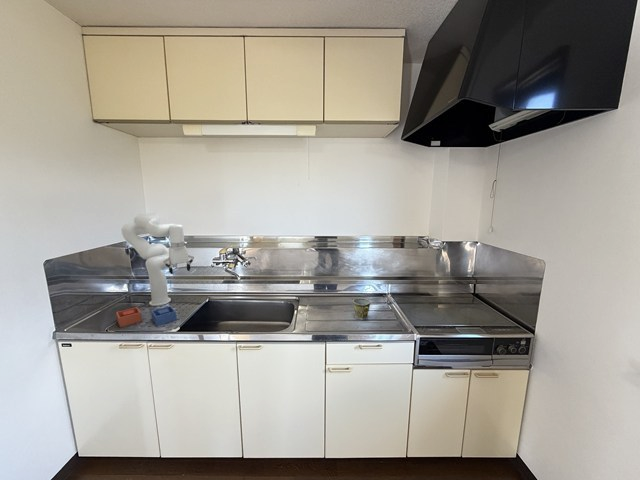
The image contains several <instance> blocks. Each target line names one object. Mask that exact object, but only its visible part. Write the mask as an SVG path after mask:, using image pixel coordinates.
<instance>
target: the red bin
mask: <svg viewBox="0 0 640 480" xmlns="http://www.w3.org/2000/svg"><path fill="white" fill-rule="evenodd" d="M129 310H133V311H134V312H135V314H131V315H127V316H123V313H122V312H125V311H129ZM115 315H116V321H117V323H118V326H119V328H123V327H128V326H130V325H134V324H138V323H141V322H142V321H143V320H142V312H141V311H140V309H139V307H137V306H136V307H132V308H127V309H123V310H119V311H115Z"/></svg>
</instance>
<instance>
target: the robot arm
mask: <svg viewBox="0 0 640 480" xmlns="http://www.w3.org/2000/svg"><path fill="white" fill-rule="evenodd" d="M184 234H185V233H184V226H183V225H182V224H176V223H172V222H171V223H163V224H161V218H160V216H159V215H158V214H156V213H140V214H137V215H136V216H135V217H134V218H133V222H129V223H126V224H124V225H123V226H122V227H121V235H122V237H123V240H125V241H126V242H127V243H128V244H129V245H130V246H132V247H133V248H134V250H135V251H136V253H137V254H138V255H139V257H141V259H143V260H146V261H145V267H146V271H147V275H148V281H149V288H150V289H149V290H150V296H151V297H150V298H151V300H150V301H149V302H148V303H149V306H152V307H158V306H159V307H160V306H164V305H167V304H169V303H170V302H171V301H172V298H171V297H169V292H168V283H167V276H166V274H165V273H164V271H163V270H167V269H168V272H169V274H170V275H173V274H174V271H173V270H174V269H173V267H174V266H175V265H178V264H185V263H186V270H187V271H188V272H190V271H191V264H192V263H193V261H194V259H195V257H194V256H192V255H189V252H188V248H187V246H186V245H187V244H188V242H187V241H185V235H184ZM142 235H149V236H152V237H154V238H163V237H169V244H170V247H169V248H167V246H166V245H165V244H163V243H160V242H159V243H149V242H148V240H147V239H145V238H144V237H142Z"/></svg>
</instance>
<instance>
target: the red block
mask: <svg viewBox="0 0 640 480" xmlns="http://www.w3.org/2000/svg"><path fill="white" fill-rule="evenodd" d="M122 313H123V316H127V315H131V314H135V312H134V311H133V310H129V311H125V312H122Z"/></svg>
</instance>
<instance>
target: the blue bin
mask: <svg viewBox="0 0 640 480" xmlns="http://www.w3.org/2000/svg"><path fill="white" fill-rule="evenodd" d="M163 309H168V310H169V312H170V313H166V314H162V315H159V316H158V312H157V311H159V310H163ZM150 313H151V320H152V322H153V323H154V324H155V326H156V327H159V326H161V325H164V324H169V323H172V322H175V321H177V311H176V310H175V308H173V307H172V306H171V305H169V306H165V307H160V308H157V309H154V310H153V309H152V310H151V311H150Z"/></svg>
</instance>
